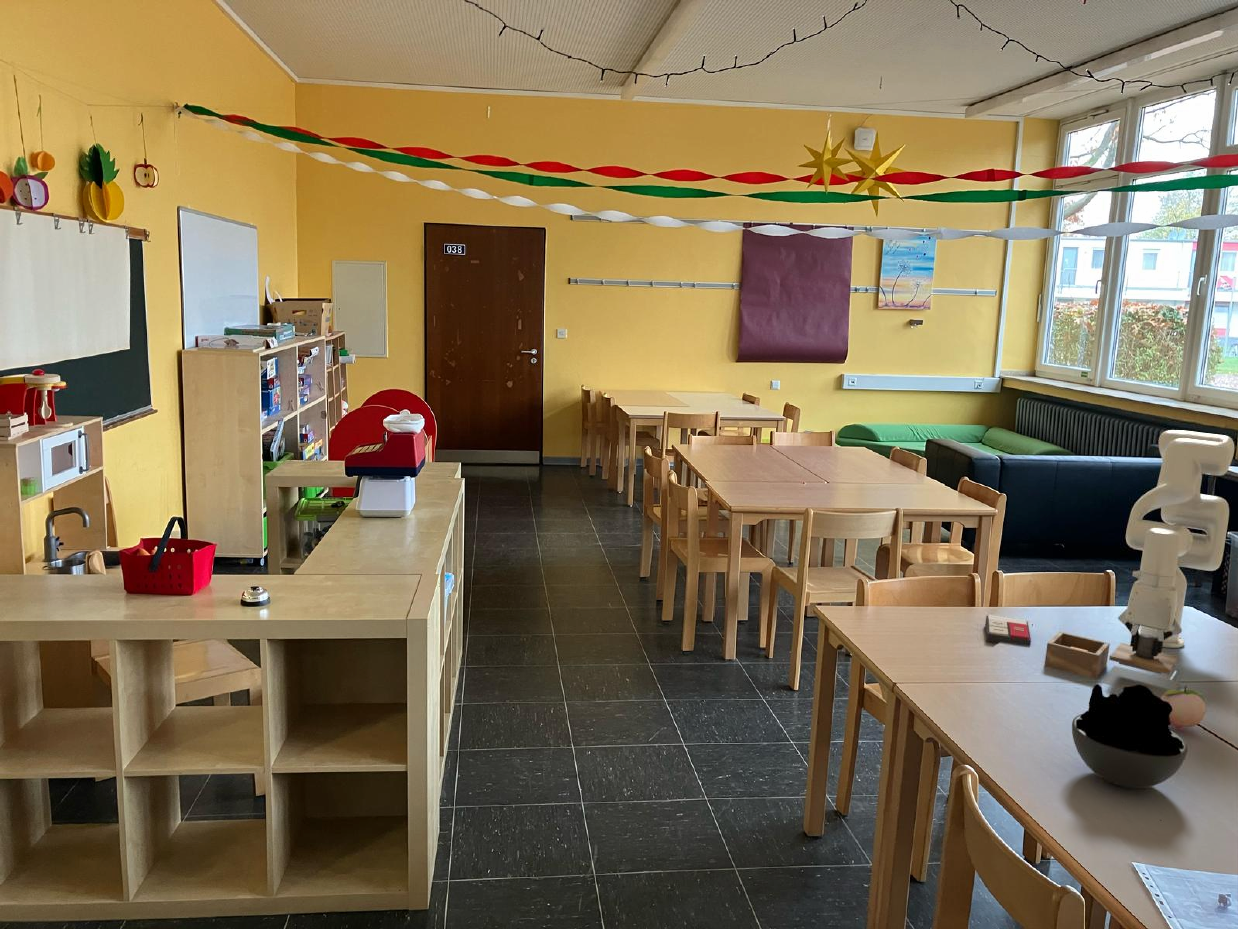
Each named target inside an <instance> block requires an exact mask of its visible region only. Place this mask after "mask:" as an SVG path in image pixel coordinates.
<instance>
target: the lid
mask: <svg viewBox="0 0 1238 929" xmlns="http://www.w3.org/2000/svg"><path fill="white" fill-rule="evenodd" d="M1156 640H1157V638H1156V637H1155V636H1152V635H1149V634H1139V635H1138V641H1137V648H1136V651H1135V652H1134V651H1132V648H1133V647H1132V646H1130V644H1129V643H1124V642H1121V643H1119V645H1118V646H1117V647H1116V648H1115V649H1114V651H1112V653H1110V655H1109V656H1108V657H1109V658H1108V660H1109V661H1113V662H1116V663H1117V662H1118V665H1122V666H1126V667H1129V668H1134V669H1138V670H1142V671H1147V672H1151V673H1155V674H1159V675H1162V674H1166V675H1170V674H1171V672H1172V671H1173V669H1174V668H1175V666H1176V665H1177V663H1178V662H1179V660H1180V656H1178V655H1175V654H1169V653H1165V652H1161V653H1158V655H1157V656H1156V657H1155V656H1153V652H1154V646H1155V641H1156Z"/></svg>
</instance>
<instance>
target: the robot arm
mask: <svg viewBox="0 0 1238 929" xmlns="http://www.w3.org/2000/svg"><path fill="white" fill-rule="evenodd" d="M1233 440H1234V439H1233V438H1232V437H1230V436H1228V435H1223V434H1215V433H1206V432H1198V431H1191V430H1180V429H1179V430H1178V429H1176V430H1175V429H1171V430H1170V429H1169V430H1165V431H1163V432H1162V433H1161V434H1160V436H1159V437H1158V449H1159V453H1160V456H1161V458H1162V462H1161V468H1160V471H1159V475H1158V476H1159V477H1158V480H1157V484H1156V487H1154V488H1152V489H1151V490H1149V491H1147V492H1146V493H1145V494H1143V495H1141V496H1140V498H1138V500H1137V501H1136V502H1135V503H1134V505H1133V507H1132V508H1131V511H1130V515H1129V518H1128V522H1127V527H1126V533H1125V540H1126V544H1127V545H1128V546H1129V548H1132V549H1133V550H1139V551H1142V554H1141V555H1142V556H1141V562H1140V567H1139V568H1140V569H1138V570H1133V571H1132V577H1135V578H1136V579H1137V580H1136V581H1134V583H1133V584H1132V587H1131V591H1130V594H1129V598H1128V602H1127V603H1128V604H1127V606H1126V609H1125V610H1123V612H1122V613H1121V614H1119V616H1118V617H1117V620H1118V621H1119V622H1120V623H1122V624H1123V625H1124V626H1125V627H1126V628H1127V629H1128V631H1129V632H1130V635H1131V638H1130V642H1129V643H1130V644H1129V645H1130V646H1132V647H1133V648H1132V651H1134V652H1135V651H1136V648H1137V641H1138V635H1139V634H1149V635H1152V636H1155V637H1156V638H1157V640H1156V641H1155V646H1154V652H1153V656H1155V657H1156V656H1157V655H1158V653H1161V652H1162V650H1163V648H1169V649H1170V648H1172V649H1178V648H1182V647H1183V646H1185V640H1184V639H1183V637H1181V636H1180V634H1182V632H1183V629H1182V627H1181V626H1182V624H1181V623H1182V617H1183V611H1184V605H1185V599H1186V593H1187V587H1188V582H1187V578H1186V576H1185V574H1184V573H1183V571H1182V570H1181V569H1180V567H1181V568H1182V567H1183V568H1188V569H1195V570H1202V571H1208V572H1209V571H1210V572H1213V571H1216V570H1217V569H1219V568H1220V566H1221V564H1222V561H1223V557H1224V551H1225V543H1226V539H1227V530H1228V524H1229V518H1230V507H1229V503H1228V502H1227V500H1226V499H1224V498H1223V497H1221V496H1217V495H1209V494H1203V493H1201V486H1202V481H1203V480H1202V479H1203V475H1210V476H1224V475H1225V474H1227V472H1228V471H1229V469H1230V466H1231V464H1232V461H1233V458H1234V454H1235V442H1234V441H1233ZM1157 509H1160V510H1161V511H1160V516H1161V519H1162V521H1163V522H1160V521H1159V522H1158V521H1153V520H1145V519H1143V518H1144V516H1145V515H1147V514H1148V513H1150V512H1152V511H1154V510H1157ZM1188 528H1189V529H1188ZM1190 529H1193V530H1194V529H1195V530H1202V531H1204V532H1205V533H1206V534H1201V533H1196V532H1195V533H1194V532H1191V531H1190ZM1162 653H1163V652H1162Z"/></svg>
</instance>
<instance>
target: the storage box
mask: <svg viewBox="0 0 1238 929" xmlns="http://www.w3.org/2000/svg"><path fill="white" fill-rule="evenodd" d="M1110 646H1111V645H1110V642H1105V641H1102V640H1098V639H1094V638H1089V637H1086V636H1079V635H1076V634H1073V633H1068V632H1064V631H1059V632H1058V633H1056V634H1055V635H1054V636H1053V637H1052V638H1051V639H1050V640H1049V641H1048V642H1047V643H1046V649H1045V650H1046V651H1045V658H1044V667H1048V668H1051V669H1055V670H1059V671H1063V672H1068V673H1069V674H1070V673H1071V674H1074V675H1079V676H1083V677H1087V678H1091V679H1093V680H1096V679H1097V678H1098V676H1099V675H1100V674H1101V673H1102V671H1104V670H1105V669H1106V667H1107V663H1108V660H1109V658H1108V657H1109V652H1110ZM1071 647H1075V648H1079V649H1083V650H1087V651H1088V652H1087V651H1083V650H1079V649H1075V648H1071Z"/></svg>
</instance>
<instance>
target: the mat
mask: <svg viewBox="0 0 1238 929" xmlns="http://www.w3.org/2000/svg"><path fill="white" fill-rule="evenodd" d="M1100 683H1101V684H1104V685H1105V684H1106V685H1110V686H1114V687H1118V688H1121V689H1124V687H1131V686H1135V685H1142V686H1146V687H1147V688H1148V689H1149V690H1150V691H1151V692H1152V693H1153V694H1154V695H1155V696H1157V697H1159V698H1161V697H1162V695H1163V694H1164V693H1165V692H1167V691H1168V690H1171V689H1177V690H1179V688H1180V686H1181V682H1180V681H1178V680H1172V679H1169V678H1165V677H1161V676H1157V675H1153V674H1149V673H1145V672H1142V671H1141V672H1140V671H1136V670H1133V669H1129V668H1126V667H1125V668H1124V667H1120V666H1116V665H1113V666H1112V667H1111V668H1110V670H1109V672H1108V673H1106V675H1105V676H1104V678H1103V679H1102V680H1101V681H1100Z"/></svg>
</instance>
